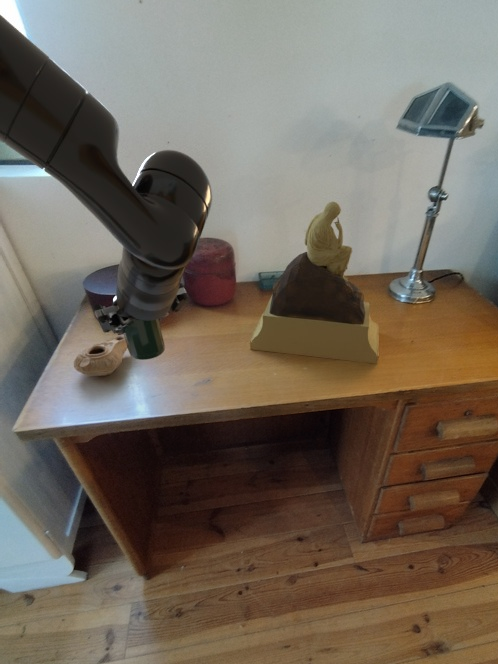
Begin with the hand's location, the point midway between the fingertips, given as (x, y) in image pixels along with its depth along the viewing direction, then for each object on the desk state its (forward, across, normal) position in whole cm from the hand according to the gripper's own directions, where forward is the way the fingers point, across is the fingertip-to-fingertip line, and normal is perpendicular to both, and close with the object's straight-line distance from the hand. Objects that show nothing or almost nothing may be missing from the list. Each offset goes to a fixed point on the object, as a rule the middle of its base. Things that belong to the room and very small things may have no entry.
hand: (137, 323), depth 65 cm
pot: (+2, 0, +4) cm, 5 cm away
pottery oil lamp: (+18, +5, +2) cm, 18 cm away
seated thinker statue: (+5, -36, +14) cm, 39 cm away
